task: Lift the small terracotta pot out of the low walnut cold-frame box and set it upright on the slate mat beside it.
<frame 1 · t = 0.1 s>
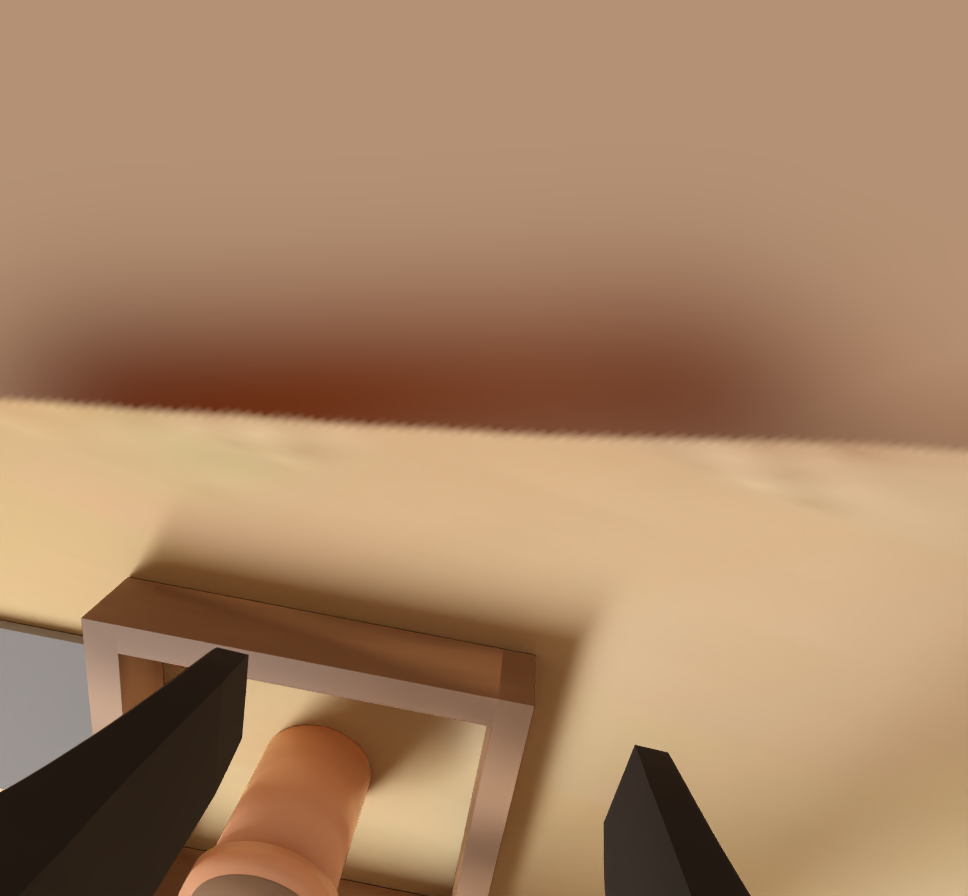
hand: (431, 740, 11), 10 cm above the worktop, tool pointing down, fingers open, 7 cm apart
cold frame: (317, 767, 26), on the worktop
terracotta pot: (289, 835, 23), in the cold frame
slate mat: (4, 705, 26), on the worktop
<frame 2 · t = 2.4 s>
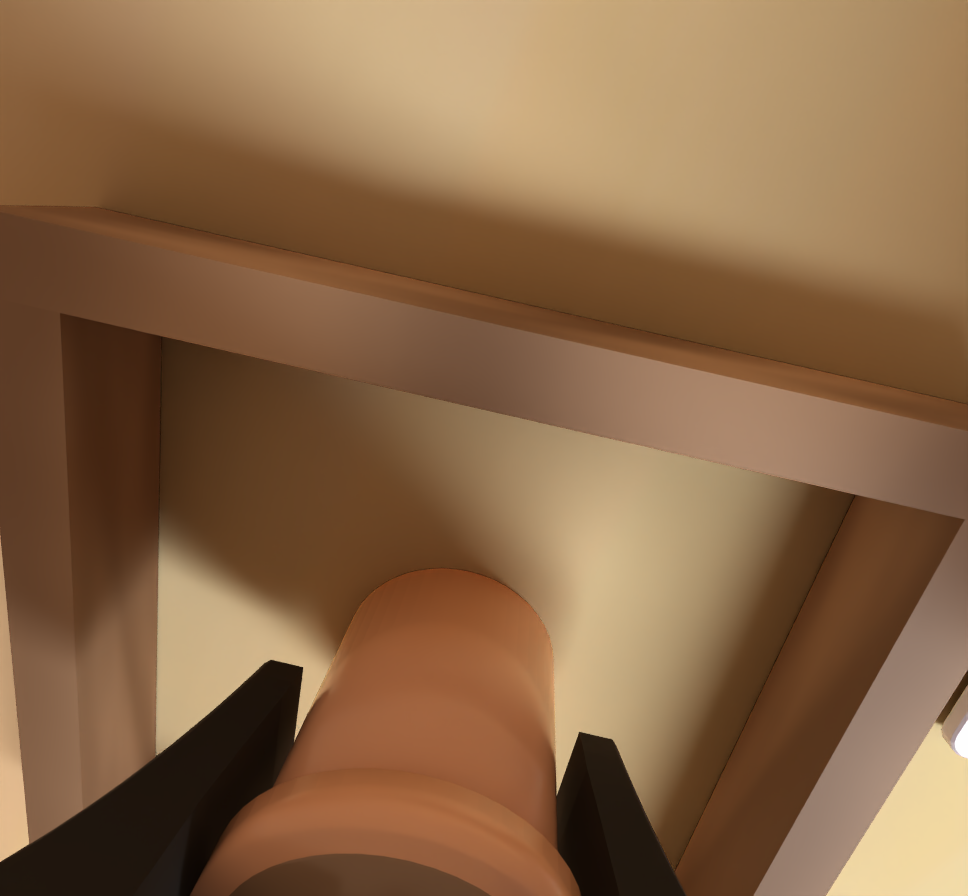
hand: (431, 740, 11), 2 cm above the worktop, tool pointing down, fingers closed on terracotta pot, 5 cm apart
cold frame: (449, 659, 13), on the worktop
terracotta pot: (423, 776, 11), in the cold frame, touching gripper
when the fingers open (4 cm above the worktop, at t = 8.7 s): terracotta pot stays where it is, resting on slate mat.
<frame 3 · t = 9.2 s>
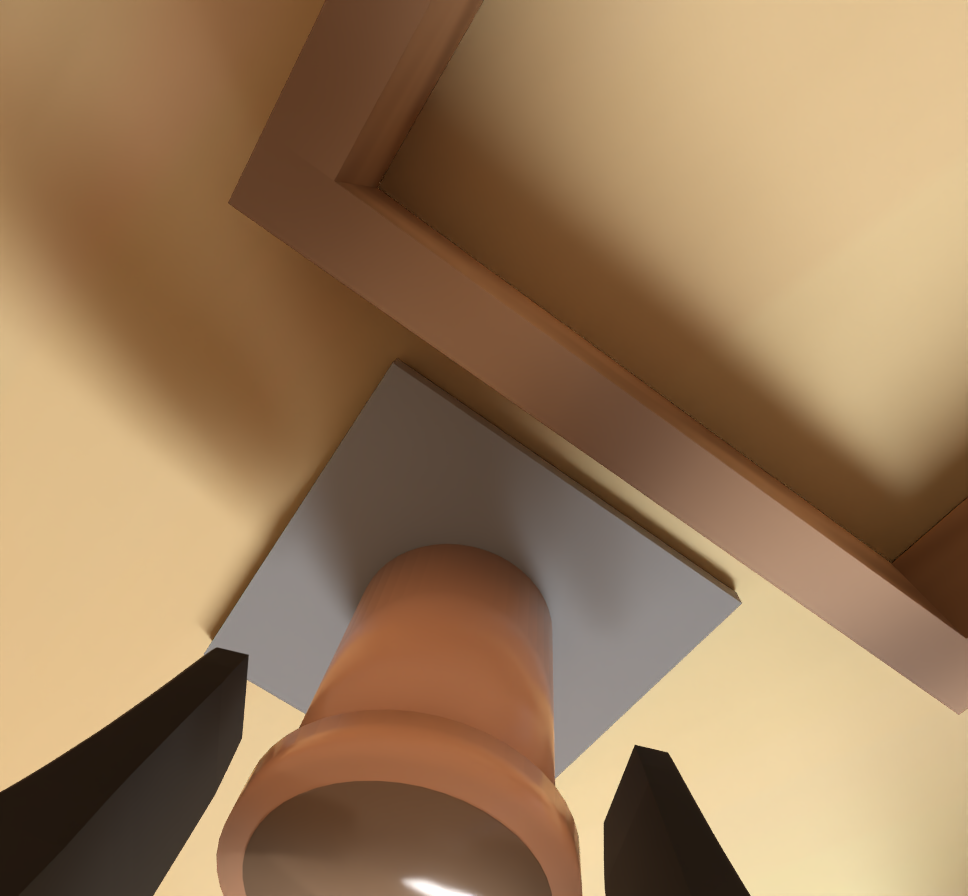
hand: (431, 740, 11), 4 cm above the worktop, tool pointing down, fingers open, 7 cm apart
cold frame: (915, 76, 10), on the worktop
terracotta pot: (432, 732, 11), on the slate mat
slate mat: (457, 619, 15), on the worktop
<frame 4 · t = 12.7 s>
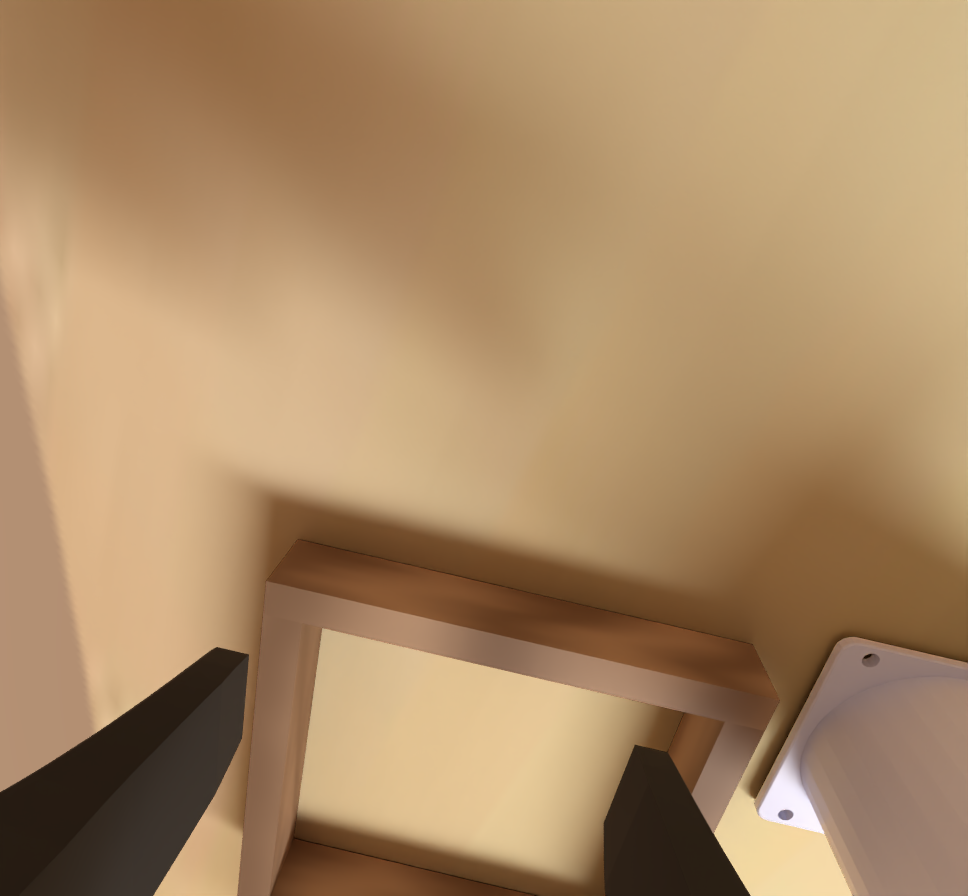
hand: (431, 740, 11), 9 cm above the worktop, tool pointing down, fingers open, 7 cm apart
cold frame: (477, 760, 23), on the worktop
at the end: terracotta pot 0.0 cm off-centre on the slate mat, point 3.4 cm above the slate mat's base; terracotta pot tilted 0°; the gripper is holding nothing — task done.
